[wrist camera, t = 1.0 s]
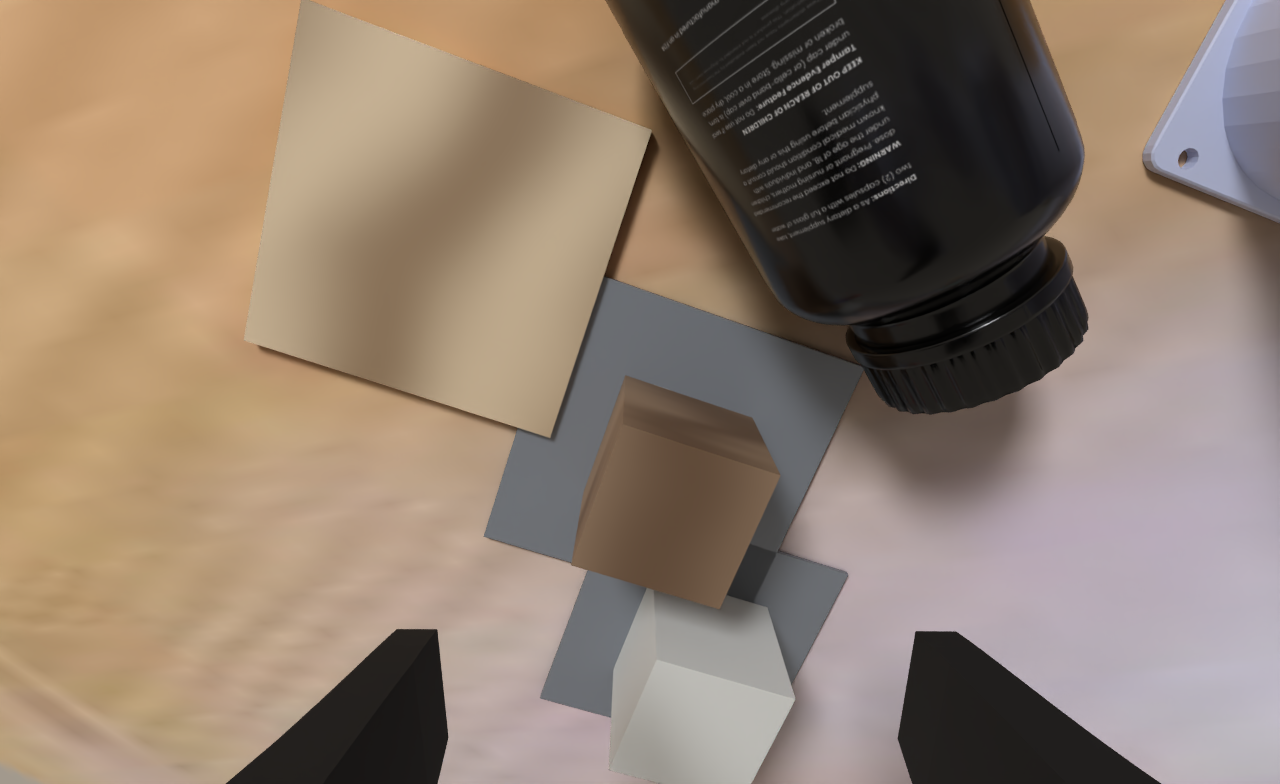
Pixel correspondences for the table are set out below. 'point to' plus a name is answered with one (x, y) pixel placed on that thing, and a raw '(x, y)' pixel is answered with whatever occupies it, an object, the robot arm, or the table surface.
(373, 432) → the table surface
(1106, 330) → the table surface
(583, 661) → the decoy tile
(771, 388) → the tile
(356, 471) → the table surface
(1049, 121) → the supplement bottle
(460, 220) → the pad
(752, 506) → the walnut block
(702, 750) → the grey block
